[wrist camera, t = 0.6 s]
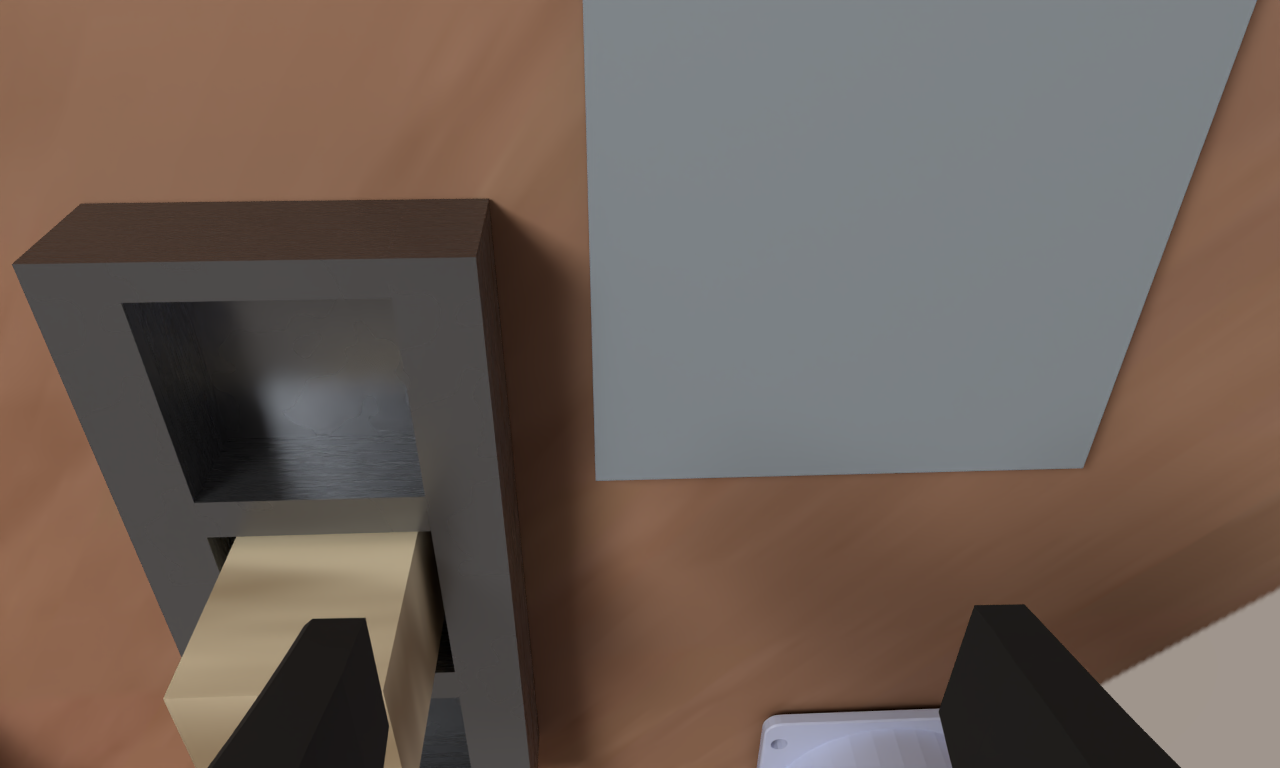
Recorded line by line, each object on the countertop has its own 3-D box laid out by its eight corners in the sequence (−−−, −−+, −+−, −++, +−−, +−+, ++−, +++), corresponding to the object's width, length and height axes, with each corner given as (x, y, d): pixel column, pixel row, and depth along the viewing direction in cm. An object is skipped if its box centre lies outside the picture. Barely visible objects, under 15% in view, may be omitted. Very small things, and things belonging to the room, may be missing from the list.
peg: (448, 594, 24) (412, 810, 19) (295, 599, 24) (219, 817, 19) (429, 479, 22) (383, 690, 17) (260, 483, 22) (162, 698, 17)
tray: (539, 736, 28) (535, 815, 26) (280, 746, 28) (255, 827, 26) (488, 199, 18) (475, 257, 16) (80, 203, 18) (12, 264, 16)
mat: (1072, 452, 23) (1082, 467, 22) (595, 464, 22) (595, 480, 22) (1262, -78, 16) (1283, -73, 15) (580, -78, 15) (580, -73, 15)
